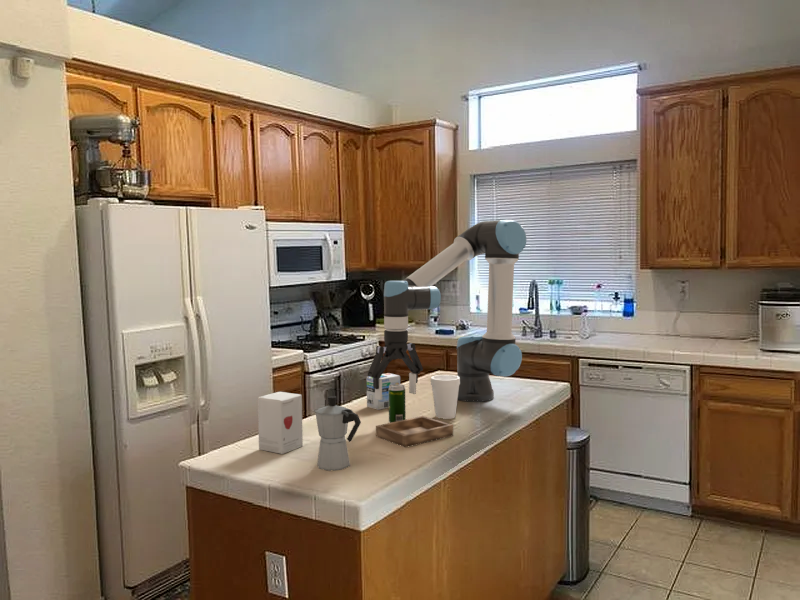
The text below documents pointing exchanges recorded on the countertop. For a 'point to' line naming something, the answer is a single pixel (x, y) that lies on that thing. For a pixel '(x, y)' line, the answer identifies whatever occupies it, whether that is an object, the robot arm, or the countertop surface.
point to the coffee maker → (334, 435)
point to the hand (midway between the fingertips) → (395, 396)
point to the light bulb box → (386, 381)
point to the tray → (414, 431)
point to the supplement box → (280, 422)
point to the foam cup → (445, 395)
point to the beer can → (396, 402)
